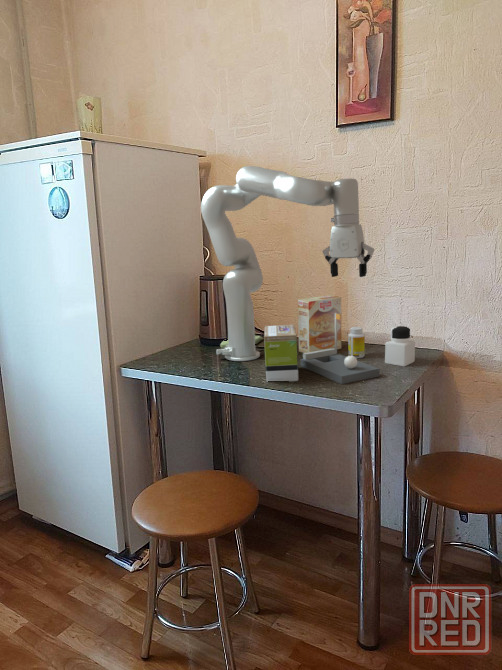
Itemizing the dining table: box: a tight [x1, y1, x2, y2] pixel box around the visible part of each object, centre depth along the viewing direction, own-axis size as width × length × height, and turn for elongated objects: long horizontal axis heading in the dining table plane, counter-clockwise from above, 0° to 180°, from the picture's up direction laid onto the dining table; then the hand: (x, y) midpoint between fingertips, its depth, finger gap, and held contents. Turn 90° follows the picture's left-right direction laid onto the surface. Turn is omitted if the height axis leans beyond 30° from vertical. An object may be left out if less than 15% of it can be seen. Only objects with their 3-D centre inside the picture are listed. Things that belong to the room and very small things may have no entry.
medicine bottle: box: [384, 325, 416, 367], centre depth 172 cm, size 7×7×12 cm
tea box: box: [263, 324, 299, 383], centre depth 164 cm, size 15×10×15 cm
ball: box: [344, 355, 358, 369], centre depth 160 cm, size 4×4×4 cm
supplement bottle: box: [347, 326, 366, 359], centre depth 182 cm, size 6×6×10 cm
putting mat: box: [300, 313, 381, 385], centre depth 165 cm, size 14×23×16 cm, turn 26°
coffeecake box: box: [297, 294, 342, 354], centre depth 192 cm, size 15×7×20 cm, turn 120°
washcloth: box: [219, 335, 264, 349], centre depth 208 cm, size 13×18×3 cm
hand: (348, 276), depth 165 cm, fingers open, 9 cm apart
